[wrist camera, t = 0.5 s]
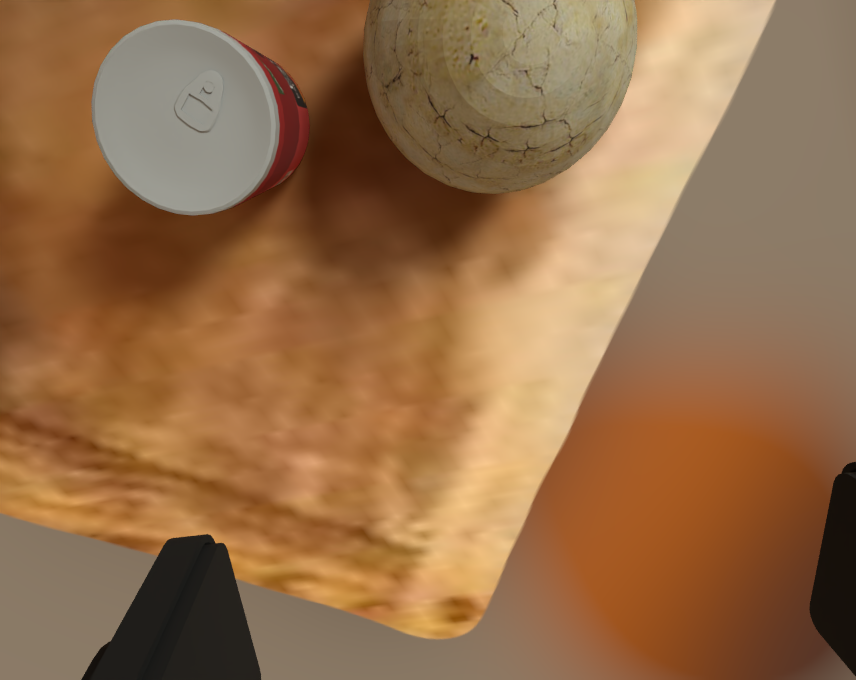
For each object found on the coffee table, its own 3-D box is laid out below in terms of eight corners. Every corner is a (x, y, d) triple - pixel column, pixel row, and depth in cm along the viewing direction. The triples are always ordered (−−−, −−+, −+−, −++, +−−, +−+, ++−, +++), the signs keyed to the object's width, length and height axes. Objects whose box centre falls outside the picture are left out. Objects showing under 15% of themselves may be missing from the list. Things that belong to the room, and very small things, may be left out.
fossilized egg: (422, 213, 37) (439, 266, 23) (331, 8, 32) (283, -85, 18) (607, 129, 35) (747, 129, 21) (539, -97, 31) (658, -283, 17)
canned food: (328, 81, 34) (298, 60, 23) (291, 209, 36) (249, 242, 26) (198, 29, 32) (107, -17, 22) (169, 166, 35) (75, 182, 24)
